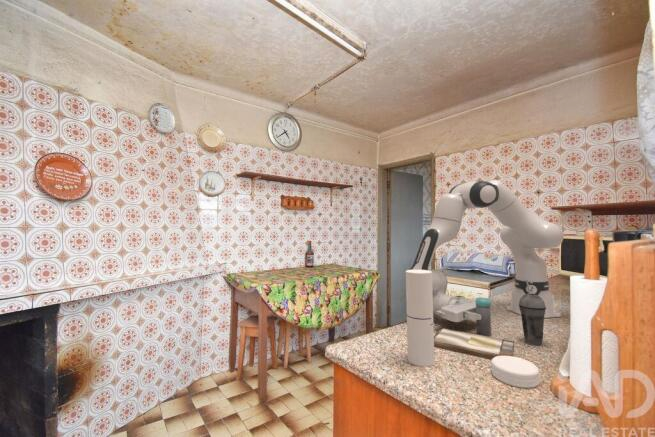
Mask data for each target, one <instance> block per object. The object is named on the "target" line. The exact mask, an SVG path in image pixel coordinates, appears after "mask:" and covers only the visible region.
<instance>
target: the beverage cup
mask: <svg viewBox="0 0 655 437" xmlns="http://www.w3.org/2000/svg"><path fill="white" fill-rule="evenodd" d="M526 283H527V289H528V294H525V295H523V296H522V297H521V299H520V301H519V308H520V312H521V314H520V316H521V323H522V331H523V338H524V343H526V344H529V345H532V346H542V345H543V341H544V340H543V339H544V325H545V318H544V315H545V309H546V307H545V303H544V301H543V299H542V298H541V297H539V296H538V295H536V294H531V293H530V290H529V284H528V280H526Z"/></svg>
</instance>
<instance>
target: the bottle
mask: <svg viewBox="0 0 655 437" xmlns="http://www.w3.org/2000/svg"><path fill="white" fill-rule="evenodd" d="M474 300H476V313H479V314H482V315H483V319H481V320H477V319H475V320H476V322H475V323H476V334H477V335H482V336H488V337H492V323H491V322H492V320H491V319H492V318H491V316H492V313H491V314H490V311H491V306H492V304H491V299H489V298H486V297H476V298H475V299H474Z"/></svg>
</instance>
